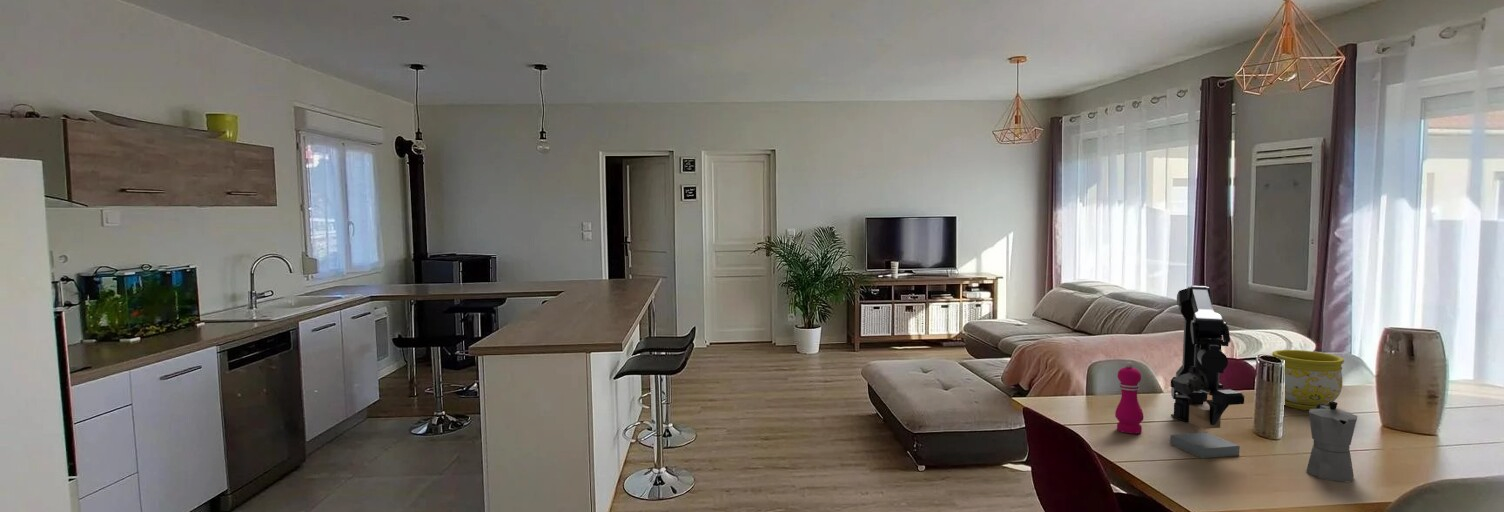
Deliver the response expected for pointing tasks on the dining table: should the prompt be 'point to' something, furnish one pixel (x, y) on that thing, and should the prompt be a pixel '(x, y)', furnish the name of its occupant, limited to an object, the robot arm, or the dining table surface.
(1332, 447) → the coffeepot
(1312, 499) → the dining table surface
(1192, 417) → the walnut cube
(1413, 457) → the dining table surface
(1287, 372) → the flowerpot
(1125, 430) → the pepper mill
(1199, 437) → the slate plinth
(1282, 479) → the dining table surface
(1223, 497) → the dining table surface
